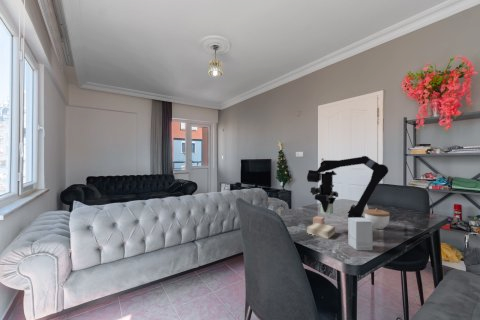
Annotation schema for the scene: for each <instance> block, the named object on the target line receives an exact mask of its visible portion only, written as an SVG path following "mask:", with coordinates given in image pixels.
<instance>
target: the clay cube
mask: <svg viewBox="0 0 480 320" xmlns="http://www.w3.org/2000/svg"><path fill="white" fill-rule="evenodd" d="M314 223H319V224H324V225H325V216H317V215H316V216H314V217H312V224H314Z"/></svg>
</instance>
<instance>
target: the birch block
mask: <svg viewBox="0 0 480 320" xmlns="http://www.w3.org/2000/svg"><path fill="white" fill-rule="evenodd" d="M307 233H308V234H307ZM306 234H307V235H309V234H312V235H311V236H313V235H316V236H315V237H318V236H319V237H318V238H322V237H323V238H322V239H326V238H327V239H330V238H332V237H333V236H334V235H335V234H336V226H334V225H330V224H325V223H324V224H319V223H314V224H313V223H312V224H310V225H308V226H306Z"/></svg>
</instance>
